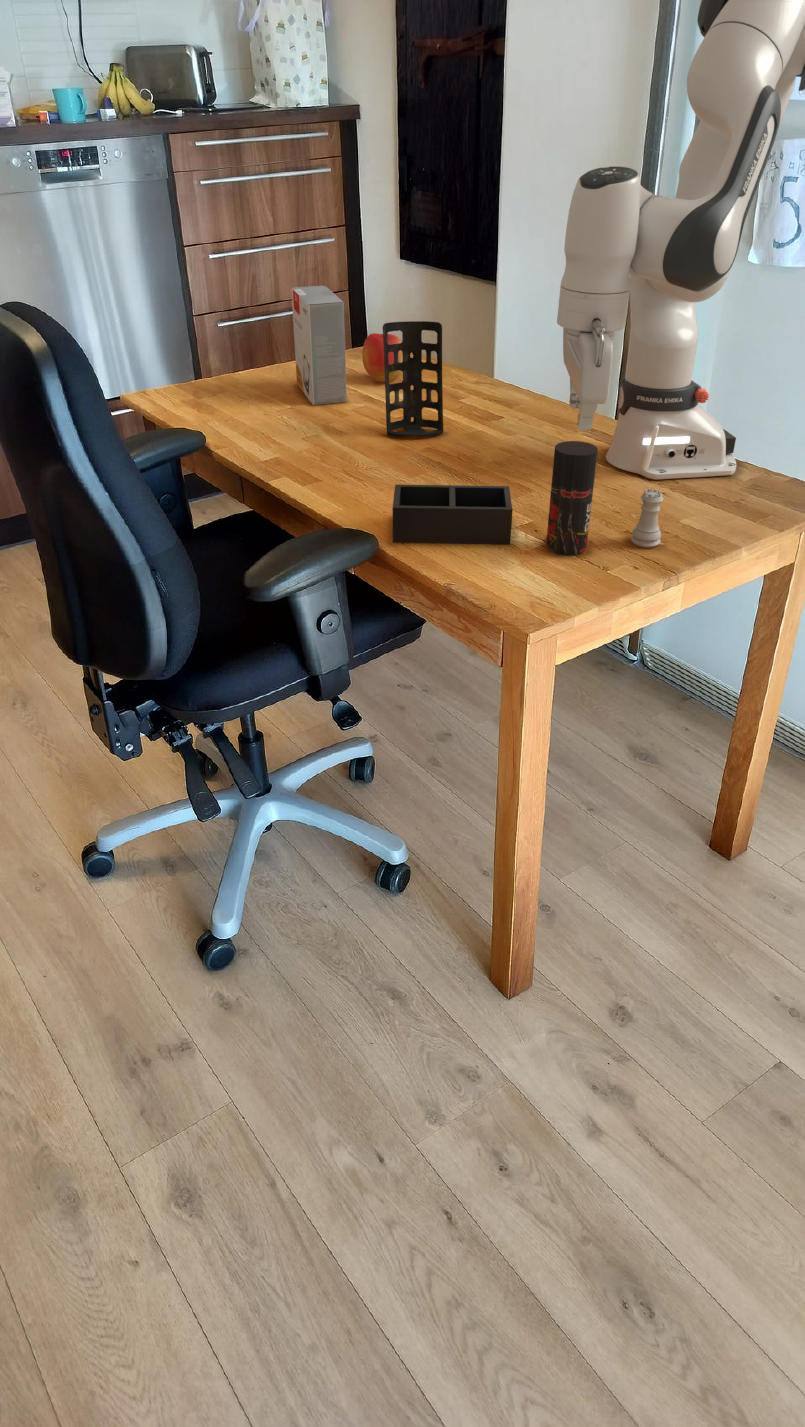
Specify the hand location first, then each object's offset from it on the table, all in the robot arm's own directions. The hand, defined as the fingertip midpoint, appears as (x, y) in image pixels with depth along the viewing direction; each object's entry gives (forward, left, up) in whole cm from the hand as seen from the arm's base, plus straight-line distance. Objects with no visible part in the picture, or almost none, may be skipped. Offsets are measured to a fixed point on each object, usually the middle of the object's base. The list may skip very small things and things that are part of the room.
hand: (579, 417), depth 136 cm
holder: (+24, -51, -20) cm, 60 cm away
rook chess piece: (-12, -2, -20) cm, 23 cm away
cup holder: (+17, -5, -19) cm, 26 cm away
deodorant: (0, 0, -20) cm, 20 cm away
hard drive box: (+44, -75, -20) cm, 89 cm away
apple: (+31, -85, -20) cm, 93 cm away
